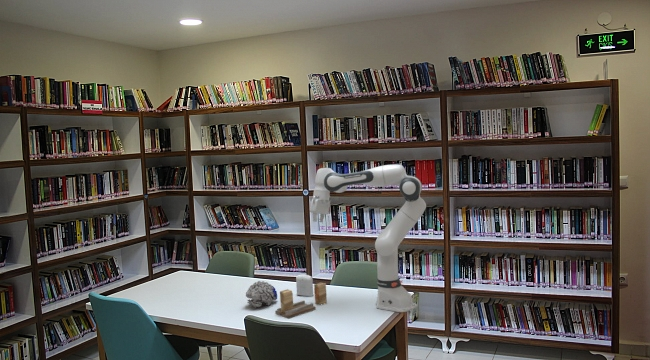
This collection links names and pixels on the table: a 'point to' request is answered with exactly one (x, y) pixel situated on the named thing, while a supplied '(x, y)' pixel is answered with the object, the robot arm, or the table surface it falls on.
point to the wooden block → (320, 293)
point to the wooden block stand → (292, 305)
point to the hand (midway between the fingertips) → (317, 221)
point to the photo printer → (304, 285)
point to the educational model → (261, 294)
